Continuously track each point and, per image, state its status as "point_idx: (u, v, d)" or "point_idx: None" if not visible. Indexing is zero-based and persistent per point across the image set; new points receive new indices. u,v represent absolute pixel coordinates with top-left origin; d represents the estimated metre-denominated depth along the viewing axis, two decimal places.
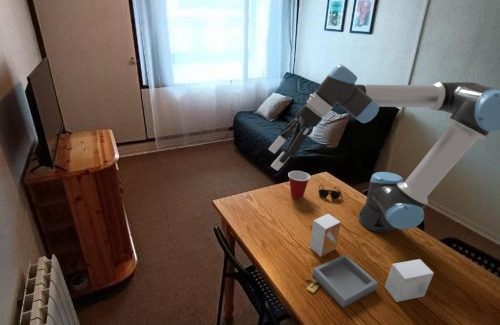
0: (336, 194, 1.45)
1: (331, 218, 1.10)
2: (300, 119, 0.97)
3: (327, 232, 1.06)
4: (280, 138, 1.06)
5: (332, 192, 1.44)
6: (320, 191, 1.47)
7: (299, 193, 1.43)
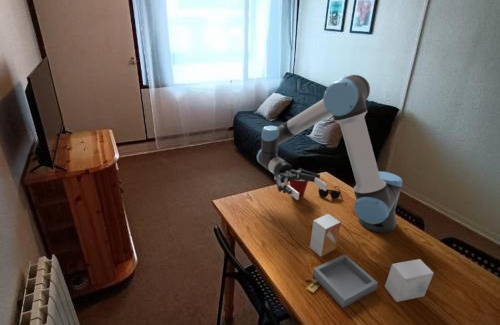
0: (335, 193, 1.45)
1: (331, 218, 1.10)
2: None
3: (327, 232, 1.06)
4: (315, 182, 1.21)
5: (332, 192, 1.45)
6: (320, 191, 1.47)
7: (299, 193, 1.43)
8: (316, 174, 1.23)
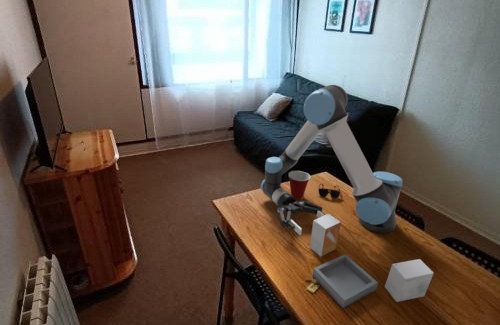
0: (335, 193, 1.46)
1: (331, 218, 1.10)
2: None
3: (327, 232, 1.06)
4: (317, 215, 1.23)
5: (332, 191, 1.45)
6: (320, 190, 1.47)
7: (299, 193, 1.43)
8: (319, 207, 1.25)
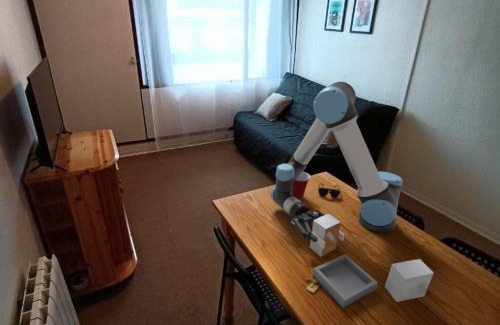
0: (335, 192, 1.46)
1: (331, 218, 1.10)
2: None
3: (327, 232, 1.06)
4: None
5: (332, 191, 1.45)
6: (320, 189, 1.48)
7: (299, 193, 1.43)
8: None
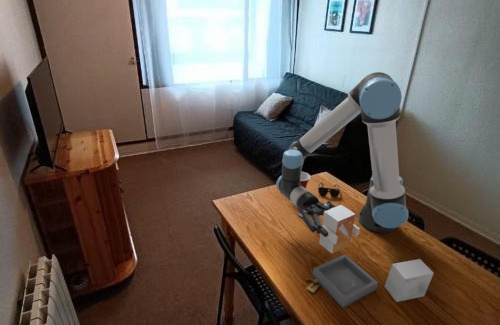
0: (335, 192, 1.46)
1: (344, 210, 0.96)
2: None
3: (339, 226, 0.92)
4: None
5: (331, 190, 1.46)
6: (320, 189, 1.48)
7: None
8: None
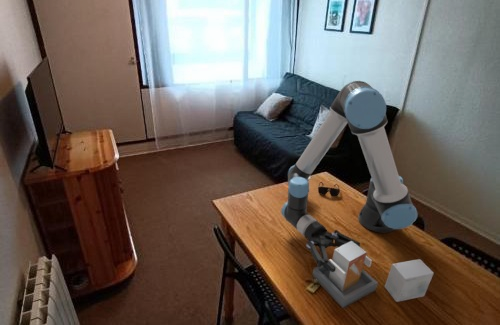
0: (335, 191, 1.47)
1: (355, 247, 0.95)
2: None
3: (351, 265, 0.91)
4: None
5: (331, 189, 1.46)
6: (320, 188, 1.49)
7: None
8: (355, 242, 1.02)
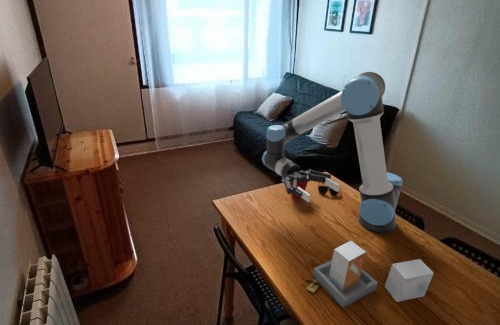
0: None
1: (355, 247, 0.95)
2: None
3: (350, 265, 0.91)
4: (326, 183, 1.13)
5: (331, 188, 1.47)
6: (319, 187, 1.50)
7: None
8: (327, 174, 1.15)
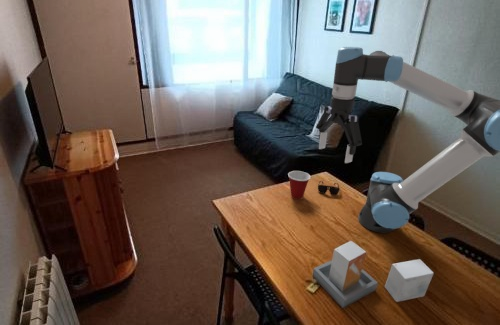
0: (334, 190, 1.48)
1: (355, 247, 0.95)
2: (335, 110, 1.02)
3: (350, 265, 0.91)
4: (323, 134, 1.11)
5: (331, 188, 1.48)
6: (319, 187, 1.50)
7: (299, 193, 1.43)
8: (323, 124, 1.12)
